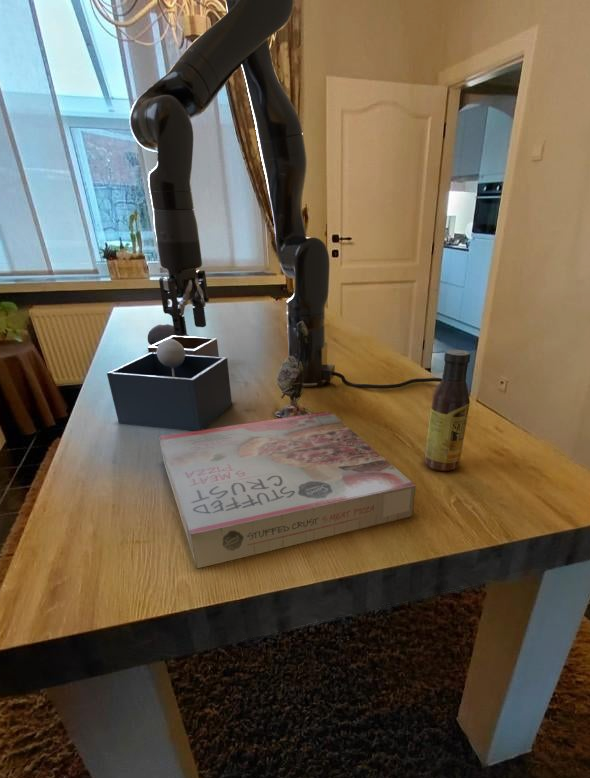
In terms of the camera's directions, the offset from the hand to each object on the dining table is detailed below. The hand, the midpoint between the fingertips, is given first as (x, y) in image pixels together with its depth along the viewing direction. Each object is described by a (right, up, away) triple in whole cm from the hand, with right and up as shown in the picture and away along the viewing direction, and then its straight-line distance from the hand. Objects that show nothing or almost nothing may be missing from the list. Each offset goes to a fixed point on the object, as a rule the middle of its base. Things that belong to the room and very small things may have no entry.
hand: (191, 331), depth 98 cm
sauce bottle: (+48, -28, -10) cm, 56 cm away
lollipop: (-6, -14, +10) cm, 18 cm away
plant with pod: (+19, -15, +10) cm, 27 cm away
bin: (-6, -14, +11) cm, 19 cm away
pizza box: (+19, -32, -17) cm, 42 cm away
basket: (-13, +4, +39) cm, 42 cm away
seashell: (-24, +17, +61) cm, 67 cm away
